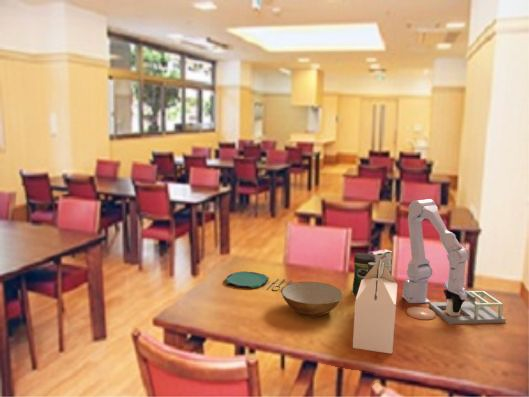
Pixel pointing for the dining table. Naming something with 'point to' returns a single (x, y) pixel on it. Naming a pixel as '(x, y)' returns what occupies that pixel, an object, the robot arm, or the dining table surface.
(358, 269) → the coffee jar
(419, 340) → the dining table surface
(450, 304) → the cream block
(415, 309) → the terracotta dish
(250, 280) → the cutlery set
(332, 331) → the dining table surface
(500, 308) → the cream slatted rack
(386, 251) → the candy bar box
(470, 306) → the puzzle board
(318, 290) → the bowl
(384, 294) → the gable box
